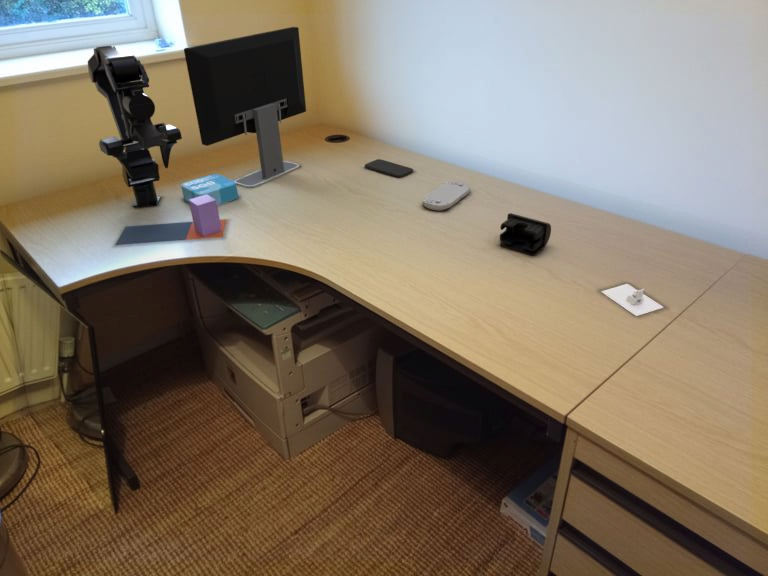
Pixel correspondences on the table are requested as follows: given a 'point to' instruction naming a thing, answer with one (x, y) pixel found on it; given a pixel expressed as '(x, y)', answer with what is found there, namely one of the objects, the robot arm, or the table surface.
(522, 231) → the end cap
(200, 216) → the block
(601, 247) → the table surface
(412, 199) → the table surface
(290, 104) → the computer monitor
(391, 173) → the phone
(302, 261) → the table surface
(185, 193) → the data package
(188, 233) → the mat
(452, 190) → the game console
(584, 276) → the table surface
